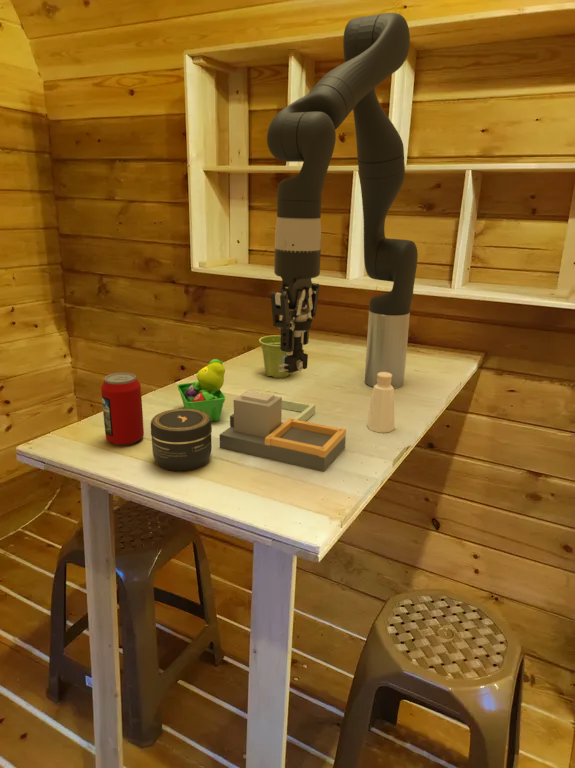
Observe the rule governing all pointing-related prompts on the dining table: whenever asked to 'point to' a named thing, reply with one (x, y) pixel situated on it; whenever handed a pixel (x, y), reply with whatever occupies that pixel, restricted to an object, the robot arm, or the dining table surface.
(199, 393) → the fruit basket
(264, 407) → the gray stepped base block
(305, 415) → the parts tray
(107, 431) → the beverage can
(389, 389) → the pepper shaker
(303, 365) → the black and tan cylinder
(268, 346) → the plant pot
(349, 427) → the dining table surface
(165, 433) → the jar
